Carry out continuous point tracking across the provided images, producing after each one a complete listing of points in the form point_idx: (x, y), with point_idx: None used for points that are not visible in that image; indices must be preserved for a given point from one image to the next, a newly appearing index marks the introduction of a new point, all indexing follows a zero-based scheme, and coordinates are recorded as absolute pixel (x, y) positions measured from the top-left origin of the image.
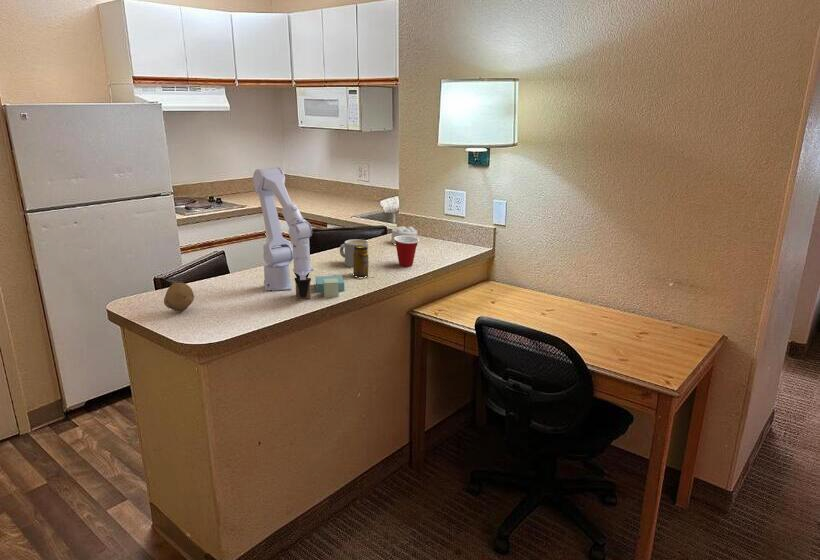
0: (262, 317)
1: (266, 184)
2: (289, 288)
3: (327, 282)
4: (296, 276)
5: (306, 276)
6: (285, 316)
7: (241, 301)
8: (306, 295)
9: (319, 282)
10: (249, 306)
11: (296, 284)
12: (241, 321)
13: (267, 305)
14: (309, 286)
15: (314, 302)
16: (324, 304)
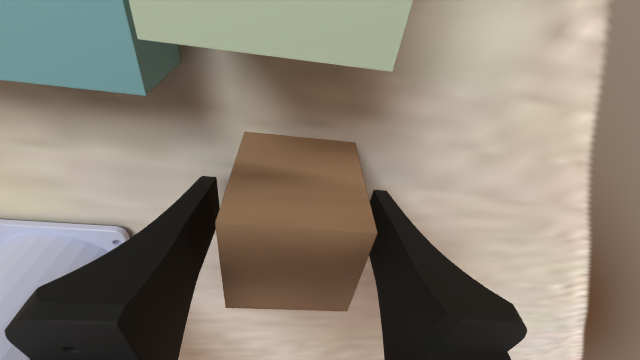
0: None
1: None
2: (123, 240)
3: (384, 2)
4: (181, 337)
5: (163, 274)
6: (545, 270)
7: (285, 352)
8: (392, 199)
9: (54, 49)
10: (349, 340)
11: (325, 307)
12: None
13: (365, 307)
14: (371, 223)
15: (439, 129)
16: (536, 62)
